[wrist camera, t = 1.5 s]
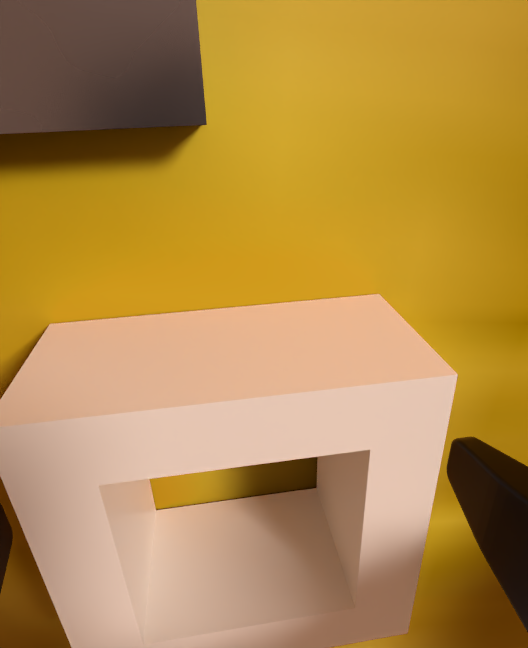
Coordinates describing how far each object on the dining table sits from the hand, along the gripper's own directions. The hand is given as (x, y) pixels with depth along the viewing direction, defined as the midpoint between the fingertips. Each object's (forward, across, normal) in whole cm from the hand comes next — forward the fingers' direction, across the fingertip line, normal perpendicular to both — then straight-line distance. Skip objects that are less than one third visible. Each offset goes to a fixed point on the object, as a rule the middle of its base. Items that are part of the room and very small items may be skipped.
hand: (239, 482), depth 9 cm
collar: (+1, 0, 0) cm, 1 cm away
